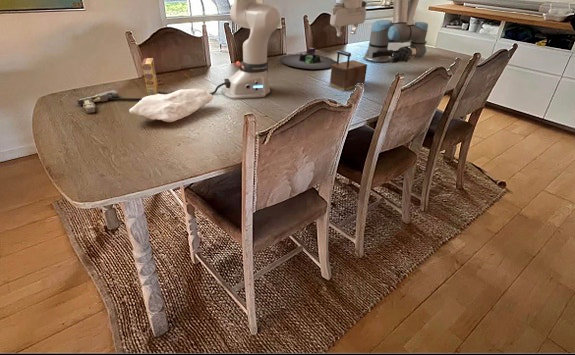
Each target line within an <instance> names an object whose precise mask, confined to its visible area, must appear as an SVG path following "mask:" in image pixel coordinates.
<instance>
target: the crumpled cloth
mask: <svg viewBox="0 0 575 355" xmlns="http://www.w3.org/2000/svg"><path fill="white" fill-rule="evenodd" d="M210 93H211V92H208V91H206V90H203V89H201V88H187V89H186V88H185V89H184V88H183V89H177V90H175V91H173V92H171V93H167V94H163V93H158V94H156V95H150V96H148V95H146V96H144V97H141V98H142V99H141V100H138V102H137V103H136V104H134V105H133V106H132V107H131V108H129V114H130V115H135V116H140V117H145V118H146V119H149V120H152V121H155V120H158V121H163V122H166V123H174V122H176V121H178V120H181V119H183V118H185V117H188V116H190V115H192V114H193V113H195V112H196V111H197V110H199V109H200V108H202V107H204V106H206V105H207V104H210V102H211V101H212V100H213V99H214V98H213V97H214V96H213V95H214V94H210Z"/></svg>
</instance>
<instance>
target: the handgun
mask: <svg viewBox="0 0 575 355" xmlns="http://www.w3.org/2000/svg"><path fill="white" fill-rule="evenodd" d="M119 96H120V94H119V92H118V91H117V90H116V89H112V90H108V91H105V92H104V91H103V92H101V93H96V94H94V95H86V94H85V95H84V94H83V95H81V96H80V97H77V98H76V101H77V104H78V105H82V108H83V109H84V110H85V113H87V114H91V113H95V112H96V104H95V103H98V102H106V101H109V100H108V98H119Z"/></svg>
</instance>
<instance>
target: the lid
mask: <svg viewBox="0 0 575 355" xmlns="http://www.w3.org/2000/svg"><path fill="white" fill-rule="evenodd" d="M336 54H337V58H336V62H337V63H336V64H331V67H330V68H332V67H333V68H336V69H339V70H342V71H349V70H353V69H358V68H362V67H366V66H367V67H368V64H367V63H364V62H361V61H359V60H358V61H357V60H354V59H352V60H350V58H351V56H352V53H351V52H348V51H345V50H342V49H337V50H336ZM340 55H341V56H345V57H347V60H345V61H341V62H340Z"/></svg>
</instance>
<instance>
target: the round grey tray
mask: <svg viewBox="0 0 575 355" xmlns="http://www.w3.org/2000/svg"><path fill="white" fill-rule="evenodd" d="M316 49H317V48H316V47H311V46H308V48H307V49H306V53H304V52H300V54H299V53H295V54H289V55H285V56H282V57H280V59H279V61H280V62H281V63H282V64H284V65H286V66H288V67H294V68H299V69H305V70H307V69H308V70H321V69H322V70H323V69H329V68H332V67H331V64H336V63H337V60H334V59H332V58H330V57H328V56H323V55H320V54H316Z"/></svg>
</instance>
